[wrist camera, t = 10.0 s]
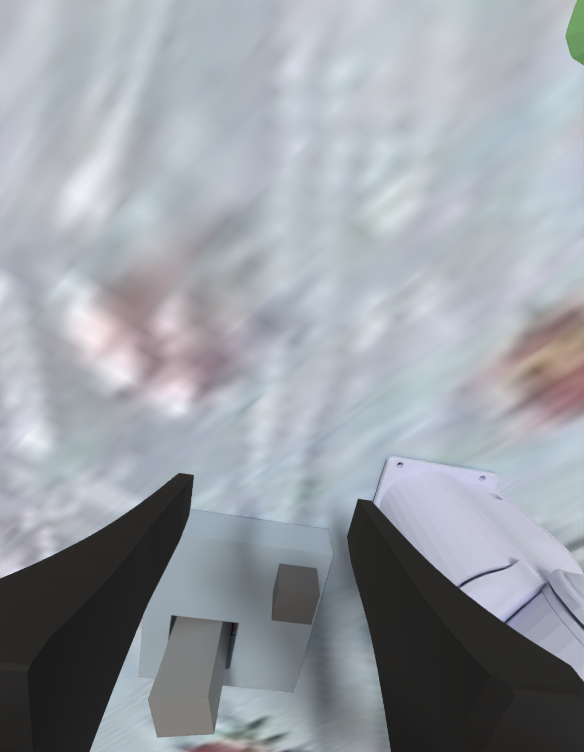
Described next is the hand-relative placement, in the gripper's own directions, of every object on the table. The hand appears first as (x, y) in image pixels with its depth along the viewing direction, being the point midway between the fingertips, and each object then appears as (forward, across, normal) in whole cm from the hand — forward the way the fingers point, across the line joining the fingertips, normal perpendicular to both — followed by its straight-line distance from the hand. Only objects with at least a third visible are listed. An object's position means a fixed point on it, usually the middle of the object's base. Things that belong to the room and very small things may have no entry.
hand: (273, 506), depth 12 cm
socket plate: (+9, +1, +17) cm, 20 cm away
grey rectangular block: (+10, +3, +20) cm, 22 cm away
